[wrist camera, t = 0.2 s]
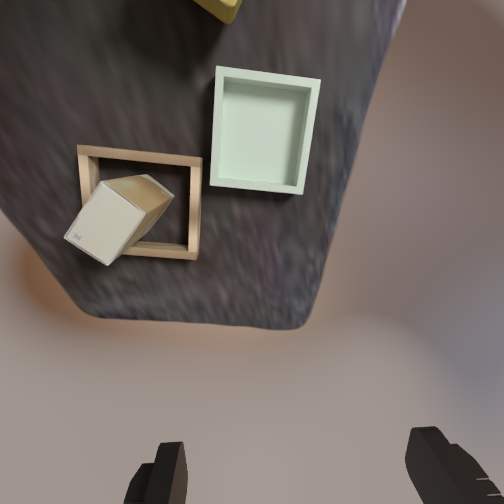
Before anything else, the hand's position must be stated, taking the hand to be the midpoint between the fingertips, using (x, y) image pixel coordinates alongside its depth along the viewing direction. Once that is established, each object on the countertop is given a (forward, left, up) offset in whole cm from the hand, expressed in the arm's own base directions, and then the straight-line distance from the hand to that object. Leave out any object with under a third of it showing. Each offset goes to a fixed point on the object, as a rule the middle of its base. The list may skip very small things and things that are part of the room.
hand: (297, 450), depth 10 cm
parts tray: (-12, 0, -28) cm, 31 cm away
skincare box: (-3, -13, -29) cm, 32 cm away
